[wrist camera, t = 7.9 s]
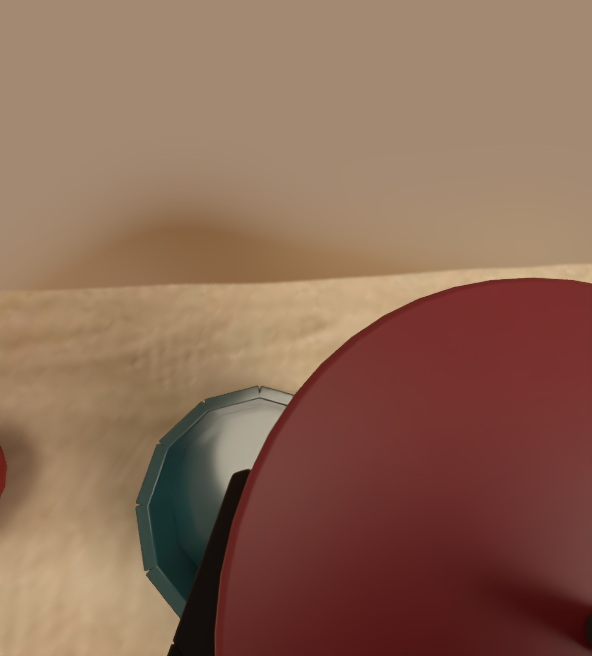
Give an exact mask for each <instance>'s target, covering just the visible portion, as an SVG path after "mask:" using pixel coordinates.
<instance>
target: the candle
mask: <svg viewBox="0 0 592 656" xmlns="http://www.w3.org/2000/svg"><path fill="white" fill-rule="evenodd" d="M215 656H592V284H591V283H586V282H580V281H575V280H563V279H547V278H518V279H501V280H489V281H484V282H479V283H473V284H468V285H463V286H457V287H453V288H450V289H447V290H444V291H441V292H438V293H435V294H432V295H429V296H426V297H423V298H419V299H417V300H415V301H413V302H411V303H409V304H407V305H405V306H403V307H401V308H399V309H396V310H394V311H392V312H390V313H388V314H386V315H384V316H383V317H381V318H380V319H378V320H377V321H375V322H374V323H372V324H371V325H369V326H368V327H366V328H365V329H363V330H362V331H360V332H359V333H357V334H356V335H354V336H353V337H351V338H350V339H349V340H348V341H347V342H345V343H344V344H343V345H342V346H341V347H340V348H339V349H338V350H336V351H335V352H334V353H333V354H332V355H331V356H330V357H329V358H327V359H326V360H325V361H324V362H323V363H322V364H321V365H320V366H319V367H318V368H317V369H316V371H315V372H314V373H313V374H312V375H311V376H310V377H309V379H308V380H307V381H306V382H305V383H304V384H303V386H302V387H301V388H300V389H299V390H298V391H297V393H296V394H295V395H294V396H293V398H292V399H291V401H290V402H289V404H288V405H287V407H286V408H285V410H284V411H283V413H282V414H281V416H280V417H279V419H278V420H277V422H276V423H275V425H274V426H273V428H272V429H271V431H270V432H269V434H268V436H267V438H266V440H265V442H264V444H263V446H262V449H261V451H260V453H259V455H258V457H257V459H256V461H255V463H254V465H253V467H252V469H251V471H250V473H249V475H248V478H247V481H246V484H245V486H244V489H243V492H242V495H241V498H240V501H239V504H238V507H237V510H236V512H235V515H234V518H233V521H232V525H231V529H230V534H229V538H228V543H227V547H226V552H225V557H224V561H223V566H222V570H221V575H220V584H219V594H218V604H217V614H216V623H215Z"/></svg>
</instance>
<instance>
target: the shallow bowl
mask: <svg viewBox="0 0 592 656" xmlns="http://www.w3.org/2000/svg"><path fill="white" fill-rule="evenodd" d="M293 396H294V395H293V394H289V393H285V392H282V391H278V390H275V389H271V388H268V387H264V386H261V387H260V389H259V387H258V386H255V387H251V388H247V389H243V390H239V391H235V392H231V393H227V394H223V395H220V396H216V397H212V398H208V399H205V403H204V402H200V403H199V404H198V405H197V406H196V407H195V408H194V409H193V410H192V411H190V412H189V413H188V414H187V415H186V416H185V417H184V418H183V419H182V420H181V421H180V422H179V423H178V424H177V425H175V426H174V427H173V428H172V429H171V430H170V431H169V432H168V433H167V434H166V435H165V436H164V437H163V438H162V439H160V441H159V442H160V443H161V444H157V445H156V448H155V450H154V453H153V456H152V459H151V462H150V464H149V467H148V470H147V473H146V476H145V478H144V481H143V484H142V487H141V490H140V492H139V495H138V498H137V501H136V504H139V505H138V506H136V515H137V522H138V529H139V537H140V544H141V551H142V558H143V565H144V571H148V570H150V571H149V572H148V573H147V574H146V576H147V577H148V578H149V580H150V581H151V582H152V584H153V585H154V586H155V587H156V589H157V590H158V591H159V592H160V594H161V595H162V596H163V597H164V599H165V600H166V601H167V603H168V604H169V605H170V606H171V608H172V609H173V610H174V611H175V613H176V614H177V615H178V616H179V618H180V619H181V616H182V613H183V610H184V608H185V605H186V602H187V599H188V596H189V594H190V591H191V588H192V585H193V582H194V580H195V577H196V574H197V571H198V568H199V566H200V563H201V560H202V557H203V554H204V552H205V549H206V546H207V543H208V540H209V538H210V535H211V532H212V529H213V526H214V524H215V521H216V518H217V515H218V512H219V510H220V507H221V504H222V501H223V498H224V496H225V493H226V490H227V487H228V484H229V481H230V479H231V476H232V475H233V473H235V472H238V471H241V470H245V469H250V470H251V469H252V467H253V465H254V463H255V461H256V459H257V457H258V455H259V453H260V451H261V449H262V446H263V444H264V442H265V440H266V438H267V436H268V434H269V432H270V431H271V429H272V428H273V426H274V425H275V423H276V422H277V420H278V419H279V417H280V416H281V414H282V413H283V411H284V410H285V408H286V407H287V405H288V404H289V402H290V401H291V399H292V398H293Z"/></svg>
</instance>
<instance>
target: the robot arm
mask: <svg viewBox="0 0 592 656" xmlns="http://www.w3.org/2000/svg"><path fill="white" fill-rule="evenodd" d="M250 471H251V470H250V469H245V470H241V471H238V472H235V473H233V475H232V476H231V479H230V481H229V484H228V487H227V490H226V493H225V496H224V498H223V501H222V504H221V507H220V510H219V512H218V515H217V518H216V521H215V524H214V526H213V529H212V532H211V535H210V538H209V540H208V543H207V546H206V549H205V552H204V554H203V557H202V560H201V563H200V566H199V568H198V571H197V574H196V577H195V580H194V582H193V585H192V588H191V591H190V594H189V596H188V599H187V602H186V605H185V608H184V610H183V613H182V616H181V619H180V622H179V624H178V627H177V630H176V633H175V636H174V638H173V642H174V644H172V645H171V646H170V649H169V652H168V655H167V656H215V623H216V614H217V604H218V594H219V584H220V575H221V570H222V566H223V561H224V557H225V552H226V547H227V543H228V538H229V534H230V529H231V525H232V521H233V518H234V515H235V512H236V510H237V507H238V504H239V501H240V498H241V495H242V492H243V489H244V486H245V484H246V481H247V478H248V475H249V473H250Z"/></svg>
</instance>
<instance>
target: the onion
mask: <svg viewBox="0 0 592 656" xmlns="http://www.w3.org/2000/svg"><path fill="white" fill-rule="evenodd" d="M6 472H7V464H6V461H5V457H4V454H3V451H2V448H1V446H0V496H1V494H2V492H3V490H4V488H5V482H6Z"/></svg>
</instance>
